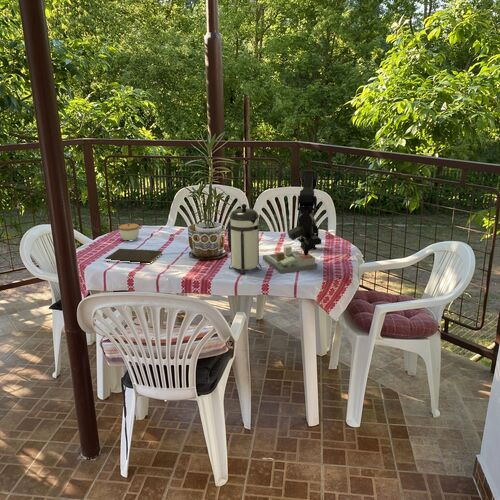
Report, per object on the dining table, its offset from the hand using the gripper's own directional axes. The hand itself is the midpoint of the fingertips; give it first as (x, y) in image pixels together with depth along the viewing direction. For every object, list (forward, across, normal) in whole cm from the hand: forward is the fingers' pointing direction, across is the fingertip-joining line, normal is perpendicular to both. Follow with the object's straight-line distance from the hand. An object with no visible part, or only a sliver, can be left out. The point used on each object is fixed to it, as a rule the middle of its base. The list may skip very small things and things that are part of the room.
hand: (305, 254), depth 233 cm
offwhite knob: (+4, -13, -3) cm, 14 cm away
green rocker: (+2, +1, -9) cm, 9 cm away
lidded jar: (+6, -76, -69) cm, 103 cm away
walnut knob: (+4, -6, -10) cm, 12 cm away
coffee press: (+6, -9, -27) cm, 29 cm away
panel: (+6, -7, -5) cm, 10 cm away
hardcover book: (+7, -43, -71) cm, 83 cm away
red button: (+3, 0, 0) cm, 3 cm away
